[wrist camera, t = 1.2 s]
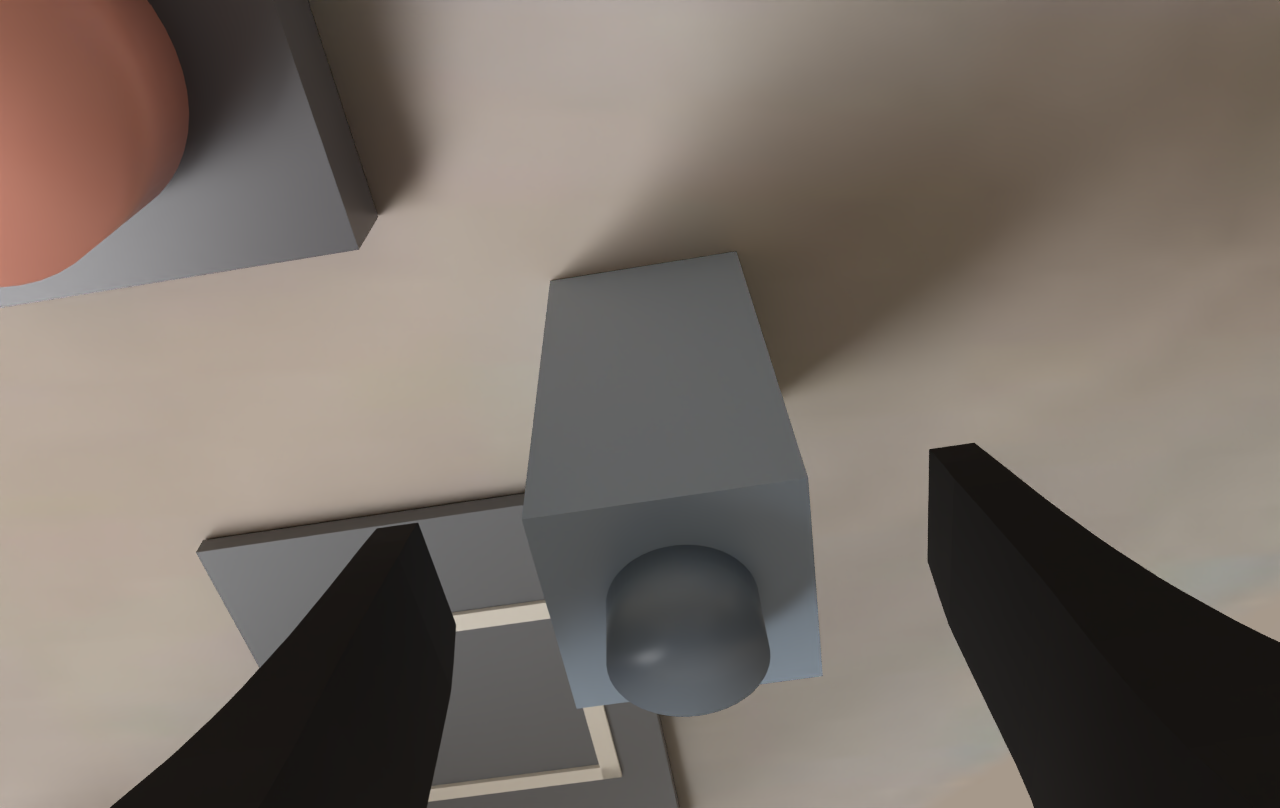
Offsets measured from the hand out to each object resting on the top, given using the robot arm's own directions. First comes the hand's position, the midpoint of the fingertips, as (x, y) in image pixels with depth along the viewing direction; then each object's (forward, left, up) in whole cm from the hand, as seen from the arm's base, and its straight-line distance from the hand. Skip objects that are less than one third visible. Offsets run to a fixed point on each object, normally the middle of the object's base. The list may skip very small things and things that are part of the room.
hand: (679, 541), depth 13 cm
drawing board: (-6, -9, -6) cm, 12 cm away
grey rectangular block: (0, 0, -6) cm, 6 cm away
